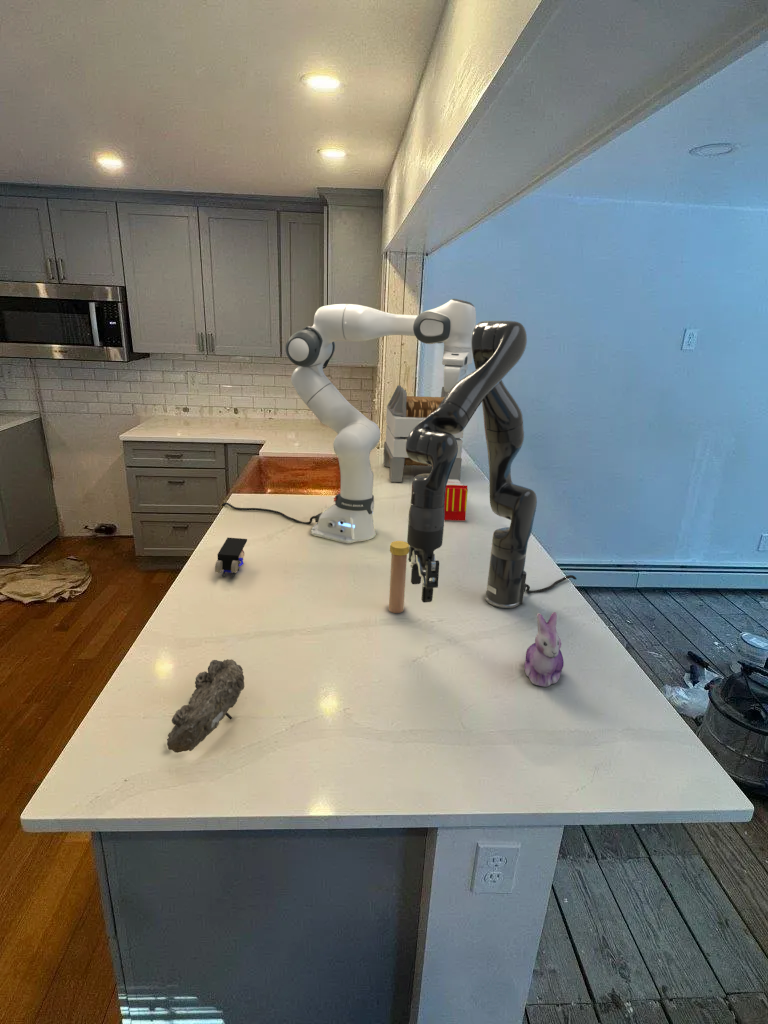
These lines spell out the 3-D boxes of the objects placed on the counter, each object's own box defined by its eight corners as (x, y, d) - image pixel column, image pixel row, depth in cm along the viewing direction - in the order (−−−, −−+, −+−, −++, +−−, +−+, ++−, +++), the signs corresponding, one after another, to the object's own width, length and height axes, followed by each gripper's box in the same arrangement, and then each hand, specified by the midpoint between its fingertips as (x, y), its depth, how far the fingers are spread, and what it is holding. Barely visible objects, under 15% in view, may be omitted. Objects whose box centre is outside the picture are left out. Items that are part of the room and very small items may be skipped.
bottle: (396, 614, 147) (400, 550, 141) (385, 609, 150) (388, 545, 143) (406, 609, 150) (410, 546, 144) (395, 604, 152) (399, 541, 146)
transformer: (382, 463, 289) (386, 382, 275) (445, 464, 293) (451, 384, 279) (390, 482, 257) (394, 392, 243) (460, 483, 261) (468, 394, 247)
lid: (400, 557, 141) (400, 550, 140) (385, 551, 144) (386, 544, 143) (412, 552, 144) (413, 544, 144) (398, 546, 147) (398, 539, 147)
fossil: (192, 660, 117) (244, 628, 112) (224, 691, 120) (276, 661, 115) (142, 746, 98) (202, 712, 93) (182, 779, 101) (242, 748, 96)
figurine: (543, 694, 119) (553, 631, 114) (511, 667, 127) (519, 608, 122) (576, 682, 123) (587, 622, 118) (543, 657, 131) (552, 600, 126)
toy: (459, 475, 239) (472, 486, 210) (457, 506, 242) (469, 522, 212) (430, 474, 239) (439, 485, 209) (429, 505, 241) (437, 521, 212)
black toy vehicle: (238, 584, 162) (249, 557, 175) (236, 562, 158) (247, 536, 172) (215, 584, 161) (227, 556, 175) (212, 561, 158) (225, 535, 171)
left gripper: (453, 354, 180) (449, 398, 185) (441, 358, 161) (437, 407, 166) (473, 355, 178) (468, 399, 183) (463, 360, 160) (459, 409, 164)
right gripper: (454, 535, 114) (447, 606, 119) (432, 511, 127) (427, 576, 132) (418, 537, 112) (413, 609, 118) (400, 512, 125) (396, 578, 131)
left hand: (454, 403), depth 174 cm, fingers open, 8 cm apart
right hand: (420, 592), depth 125 cm, fingers open, 8 cm apart
